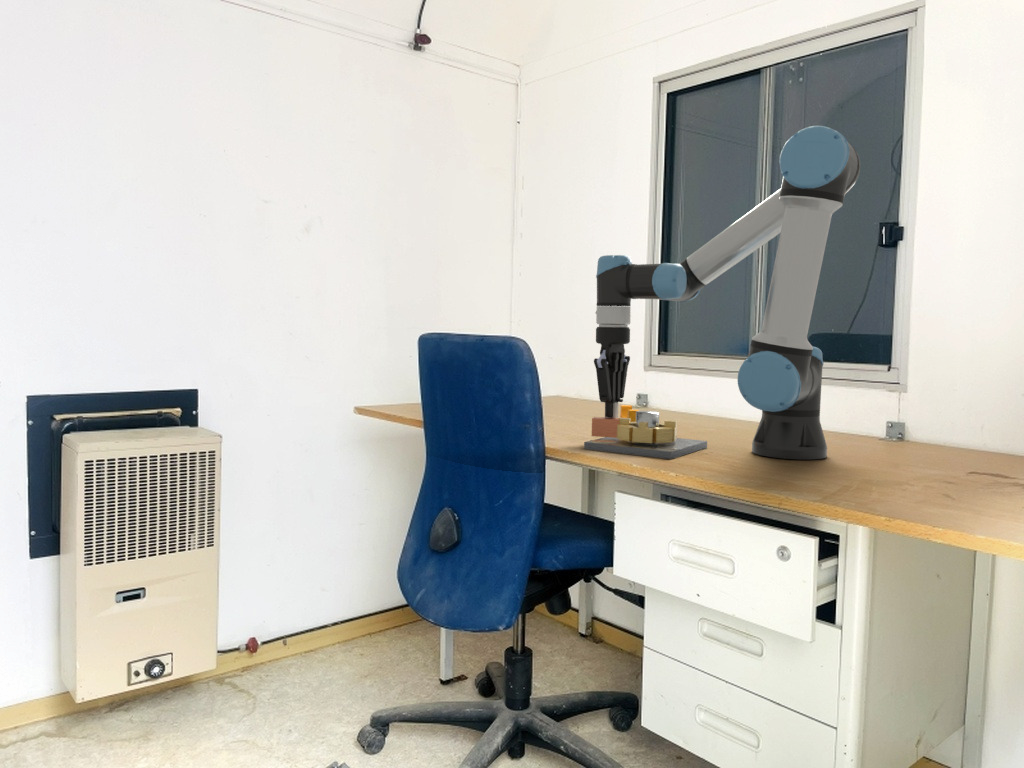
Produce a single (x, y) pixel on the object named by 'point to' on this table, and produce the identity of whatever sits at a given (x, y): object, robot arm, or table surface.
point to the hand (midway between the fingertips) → (611, 431)
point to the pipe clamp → (628, 412)
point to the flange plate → (647, 449)
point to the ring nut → (634, 430)
